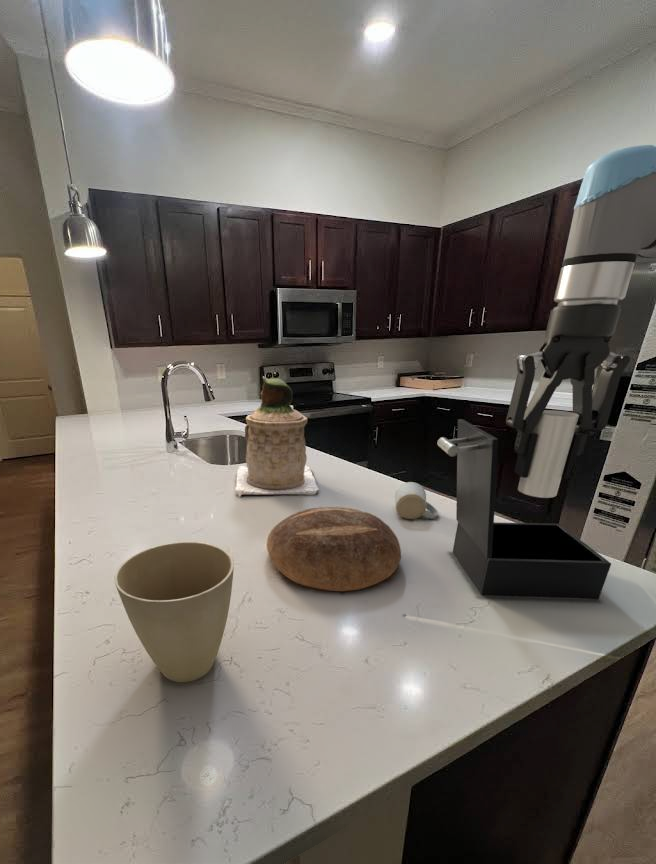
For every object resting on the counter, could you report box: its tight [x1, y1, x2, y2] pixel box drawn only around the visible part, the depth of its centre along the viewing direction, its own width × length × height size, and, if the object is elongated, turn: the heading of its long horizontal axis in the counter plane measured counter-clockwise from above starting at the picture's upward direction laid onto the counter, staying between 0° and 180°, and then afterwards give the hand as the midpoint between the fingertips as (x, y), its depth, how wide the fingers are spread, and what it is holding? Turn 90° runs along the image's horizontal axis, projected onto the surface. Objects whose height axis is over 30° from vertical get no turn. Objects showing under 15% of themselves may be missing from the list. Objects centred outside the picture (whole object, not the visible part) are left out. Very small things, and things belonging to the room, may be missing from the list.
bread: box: [266, 506, 402, 592], centre depth 85 cm, size 26×27×10 cm
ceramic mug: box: [394, 481, 439, 520], centre depth 105 cm, size 11×8×8 cm
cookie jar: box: [234, 376, 319, 498], centre depth 124 cm, size 25×25×32 cm
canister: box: [517, 409, 579, 499], centre depth 62 cm, size 5×5×12 cm
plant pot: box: [114, 541, 235, 683], centre depth 57 cm, size 15×15×16 cm
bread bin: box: [452, 521, 612, 600], centre depth 78 cm, size 20×16×8 cm
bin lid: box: [436, 418, 499, 558], centre depth 74 cm, size 20×16×6 cm
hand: (541, 474), depth 63 cm, fingers closed on canister, 5 cm apart
